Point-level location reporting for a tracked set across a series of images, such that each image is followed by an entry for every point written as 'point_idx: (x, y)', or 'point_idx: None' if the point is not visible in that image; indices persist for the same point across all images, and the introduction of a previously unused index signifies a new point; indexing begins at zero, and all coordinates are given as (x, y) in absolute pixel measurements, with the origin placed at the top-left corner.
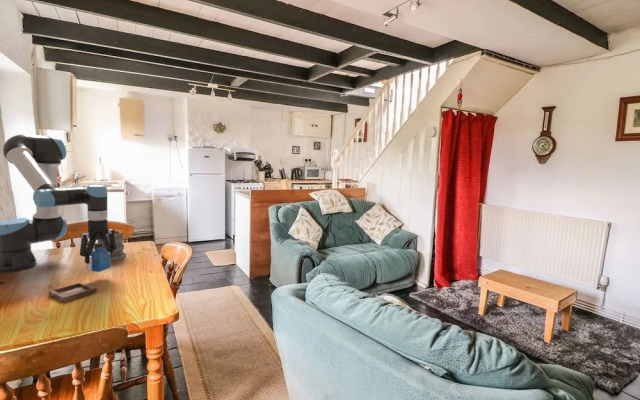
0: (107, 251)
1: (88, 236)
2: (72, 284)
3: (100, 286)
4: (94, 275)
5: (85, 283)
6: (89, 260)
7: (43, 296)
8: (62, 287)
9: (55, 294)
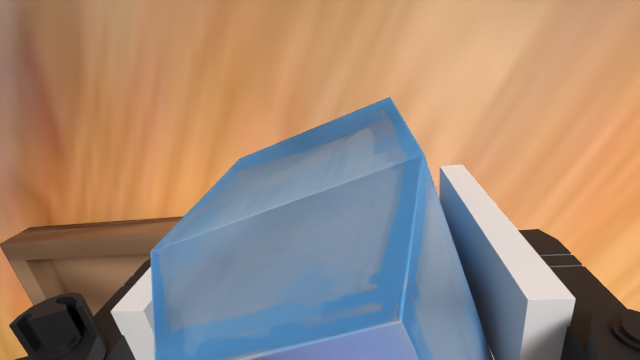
0: (561, 330)
1: None
2: (129, 244)
3: None
4: (350, 46)
5: None
6: None
7: (6, 219)
8: (71, 250)
9: None
